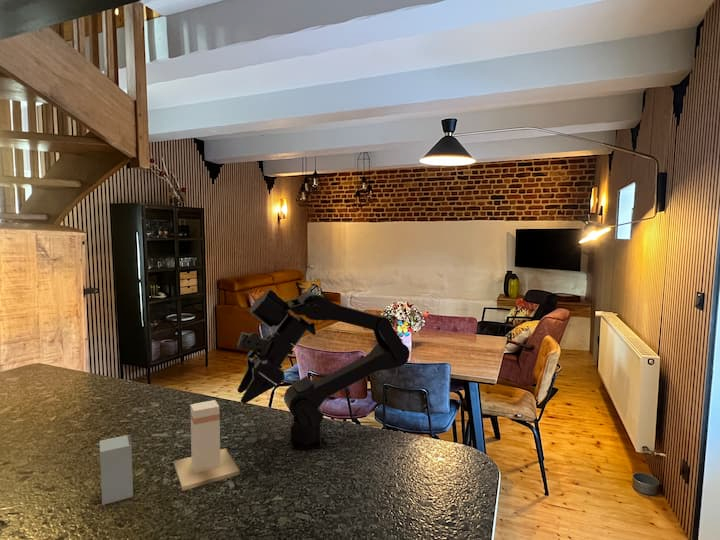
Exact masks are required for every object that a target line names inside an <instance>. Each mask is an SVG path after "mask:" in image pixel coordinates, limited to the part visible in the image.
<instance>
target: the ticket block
mask: <svg viewBox="0 0 720 540" xmlns="http://www.w3.org/2000/svg"><path fill="white" fill-rule="evenodd" d="M132 450H133V449H132V441H131V436H130V434H125V435H120V436H117V437H111V438H107V439H103V440H101V439H100V440H99V459H100V460H99V462H100V487H101V488H100V489H101V506H105V505H108V504H112V503H115V502H119V501H122V500H127V499H130V498H133V497H134V486H133V484H134V483H133V482H134V481H133V479H134V478H133V451H132Z"/></svg>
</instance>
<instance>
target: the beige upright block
mask: <svg viewBox="0 0 720 540" xmlns="http://www.w3.org/2000/svg"><path fill="white" fill-rule="evenodd" d="M189 407H190V409H189V410H190V441H191V443H190V444H191V445H190V446H191V447H190V449H191V450H190V451H191V452H190V453H191V457H192V466H193V469H194V472H195V473H199V472H203V471H206V470H210V469H214V468H218V467H220V449H221V428H220V426H221V422H220V421H221V420H220V419H221V418H220V417H221V416H220V415H221V413H220V405H219V403H218V402H217V401H216V399H214V400H213V399H212V400H208V401H201V402H196V403H192V404H191V403H190V406H189Z"/></svg>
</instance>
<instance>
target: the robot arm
mask: <svg viewBox="0 0 720 540" xmlns="http://www.w3.org/2000/svg"><path fill="white" fill-rule="evenodd" d="M289 311H291V312H292V313H293V314H295V315H296V316H294V315H293V314H291V313H289ZM249 313H250V314H252V316H254V317H256V319H258V320H259V321H260V322H262V323H263V324H265V325H266V326H267V327H269V328H272V327H277V328H276V330H274V332H273V333H272V334H268V335H267V336H266V337H265V338H264V337H261V336H260V334H259V333H257V332H256V333H255V332H253V331H252V332H251V333H247V332H244V331H241V333H240V336H239V339H238V341H237V344H236V346H237V347H238V348H239V349H240V350H249V352H248V353H247V357H246V358H245V359H246V366H247V368H246V369H245V372H244V375H243V377H242V379H241V381H240V384H239V386H238V388H237V392H238V393H239V394H242V393H243V395H242V397H241V398H240V402H241V403H242V404H243V405H245V404H247V403H248V402H251V401H252V400H254V399H256V398H257V397H259V396H261V395H263V394H264V393H266V392H267V391H269V390H272V389H274V388H276V387H277V386H281V384H282V383H283V381H284V380H285V378H286V377H285V372H284V371H283V370H282V368H283V366H282V365H283V363H284V362H285V360H286V359H287V358H288V356H290V355H291V356H292V355H293V354H294V352H295V351H294V348H295V347H296V346H297V344H298V343H299V342H300V341H301V339H302V337H303V336H304V335H305V334H306V333H307V332H308V333H309V334H311V335H313V336H315V335H316V334H317V333H316V332H317V331H316V327H315V326H316V325H315V324H316V323H315V322H313V321H324V322H327V321H335V322H341V323H345V324H349V325H352V326H357V327H360V328H365V329H369V330H372V331H373V334H374V338H375V341H376V343H377V344H376V345H375V346H374V347H372V350H370V352H369V353H368V354H367V355H365V356H363V357H361V358H358V359H357V360H355V361H353V362H351V363H349V364H347V365H345V366H342V367H341V368H339V369H336V370H335V371H333V372H331V373H329V374H327V375H325V376H323V377H321V378H319V379H315V380H311V379H310V378H309V376H308V375H307V376H304V377H302V378H300V380H298V381H295V382H291V385H290V386H289V387H288V388H286V389H285V393H284V395H283V401H284V404H285V405H286V408H287V409H288V411H289V412H290V413H291V416H293V420H292V421H291V423H290V443H291V444H292V450H311V449H313V450H315V449H322V440H321V424H322V422H323V419H324V416H325V414H324V413H323V411H322V410H321V409H320V407H321V405H322V404H323V403H324V402H325V401H326V400H327V398H329V397H331V396H333V395H336V394H337V393H339V392H340V391H342V390H344V389H346V388H348V387H350V386H352V385H354V384H356V383H359V382H360V381H362V380H364V379H365V378H368V377H369V376H371V375H373V374H375V373H376V372H380V371H381V372H382V371H390V370H394V369H397V368H400V367H402V366H405V365H406V364H407V363H408V362H409V359H410V349H409V347H408V346H407V345H406V344H404V342H403V340H402V338H401V337H400V336H399V334H398V333H397V331H396V330H395V327H393V325H392V323H391V320H390V319H389V317H388V318H387V317H386V316H384V315H381V314H376V313H375V314H374V313H371V312H367V311H363V310H359V309H357V308H352V307H349V306H344V305H342V304H337V303H336V302H334V301H331V300H329V299H328V298H325V297H323V296H322V295H321V296H320V295H319V294H317V293H314V292H312V291H305V292H303V293H302V294H301V295H299V297H298V298H294V299H290V300H286V301H285V300H284V299H282V298H281V297H279V296H278V295H277V293H276V292H275V291H273V290H272V289H271V288H269V289H268V290H266V292H265V293H263V294H262V295H261V296H260V297H258V298H256V300H254V303H253V304H252V305H251V307H250V308H249ZM302 316H304V317H306V319H309V320H311V321H309V322H308V321H307V320H306V319H305V318H303V317H302ZM312 320H313V321H312Z"/></svg>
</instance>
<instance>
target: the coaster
mask: <svg viewBox="0 0 720 540" xmlns="http://www.w3.org/2000/svg"><path fill="white" fill-rule="evenodd" d="M172 462H173V463H172V464H173V467H174V470H175V473H176V475H177V476H176V477H177V479H178V481H179V484H180V488H181V490H182V491H183V492H185V491H186V490H191V489H194V488H197V487H201V486H204V485H208V484H211V483H215V482H218V481H222V480H225V479H230V478H232V477H235V476H239V475H240V473H241V472H240V471H241V470H240V469H239V467H238V466H237V464H236V463H235V461H234V459H233V458H232V456H231V455H230V453H229V452H228V449H227V448H226V447H225V448H220V467H218V468H214V469H210V470H206V471H203V472H199V473H195V472H194V469H193V466H192V456H188V457H184V458H180V459H177V460H173V461H172Z"/></svg>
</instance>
